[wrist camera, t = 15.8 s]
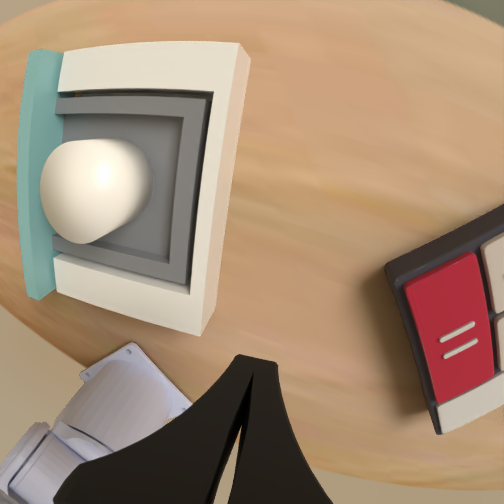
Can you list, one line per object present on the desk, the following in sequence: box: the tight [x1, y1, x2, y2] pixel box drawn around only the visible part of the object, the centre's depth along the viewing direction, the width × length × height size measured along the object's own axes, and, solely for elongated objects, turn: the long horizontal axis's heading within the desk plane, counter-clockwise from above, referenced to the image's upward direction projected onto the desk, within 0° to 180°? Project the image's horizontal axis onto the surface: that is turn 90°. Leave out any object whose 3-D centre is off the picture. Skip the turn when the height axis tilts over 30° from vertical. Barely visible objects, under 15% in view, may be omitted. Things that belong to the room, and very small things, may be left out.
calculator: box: [385, 204, 504, 435], centre depth 18 cm, size 11×4×15 cm
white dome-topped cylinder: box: [40, 138, 153, 244], centre depth 16 cm, size 5×5×4 cm
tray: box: [17, 49, 212, 301], centre depth 17 cm, size 11×16×4 cm
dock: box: [53, 41, 251, 336], centre depth 18 cm, size 11×16×4 cm
